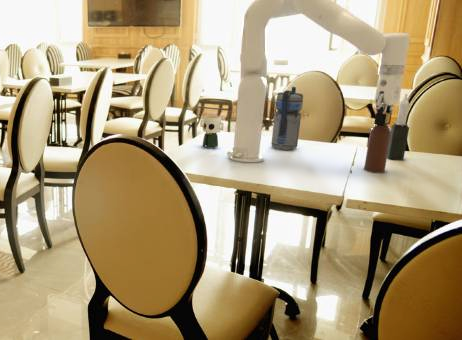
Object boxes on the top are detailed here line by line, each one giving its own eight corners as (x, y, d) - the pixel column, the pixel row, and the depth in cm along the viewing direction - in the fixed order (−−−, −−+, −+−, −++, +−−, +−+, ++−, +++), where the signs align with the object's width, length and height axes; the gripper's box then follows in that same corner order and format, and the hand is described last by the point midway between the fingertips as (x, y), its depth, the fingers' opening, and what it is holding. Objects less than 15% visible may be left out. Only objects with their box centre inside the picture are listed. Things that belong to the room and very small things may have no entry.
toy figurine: (194, 146, 215) (196, 115, 211) (203, 144, 220) (205, 113, 216) (217, 151, 207) (219, 119, 204) (226, 148, 212) (228, 117, 209)
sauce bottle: (383, 173, 178) (393, 116, 172) (362, 170, 181) (372, 114, 176) (385, 169, 183) (395, 114, 178) (365, 166, 186) (374, 112, 181)
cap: (388, 123, 175) (390, 114, 174) (375, 122, 177) (376, 113, 176) (389, 121, 178) (391, 112, 177) (376, 120, 180) (378, 111, 179)
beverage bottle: (265, 149, 211) (272, 88, 205) (275, 144, 222) (282, 85, 215) (291, 153, 205) (299, 90, 199) (300, 147, 216) (307, 87, 209)
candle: (389, 159, 198) (401, 94, 191) (385, 156, 202) (396, 92, 196) (404, 160, 196) (416, 95, 190) (399, 157, 201) (411, 93, 194)
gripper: (393, 72, 165) (384, 128, 170) (412, 70, 175) (402, 123, 180) (369, 70, 170) (360, 125, 175) (388, 68, 181) (379, 120, 186)
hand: (382, 123), depth 178 cm, fingers closed on cap, 4 cm apart
